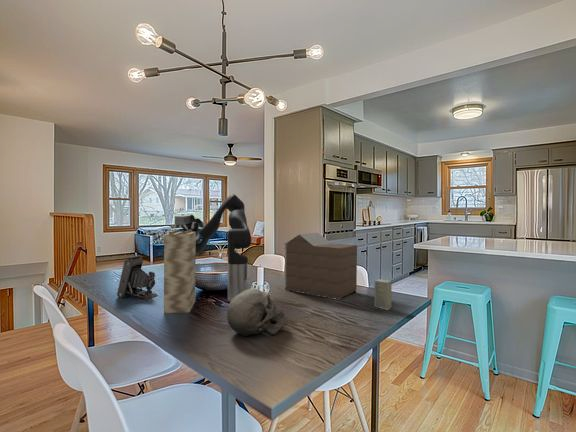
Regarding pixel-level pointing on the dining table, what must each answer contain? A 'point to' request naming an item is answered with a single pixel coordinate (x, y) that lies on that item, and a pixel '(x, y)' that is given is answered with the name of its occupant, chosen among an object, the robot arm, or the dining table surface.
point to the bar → (182, 219)
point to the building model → (320, 266)
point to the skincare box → (383, 293)
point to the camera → (135, 279)
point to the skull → (255, 313)
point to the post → (179, 271)
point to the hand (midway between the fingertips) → (187, 216)
